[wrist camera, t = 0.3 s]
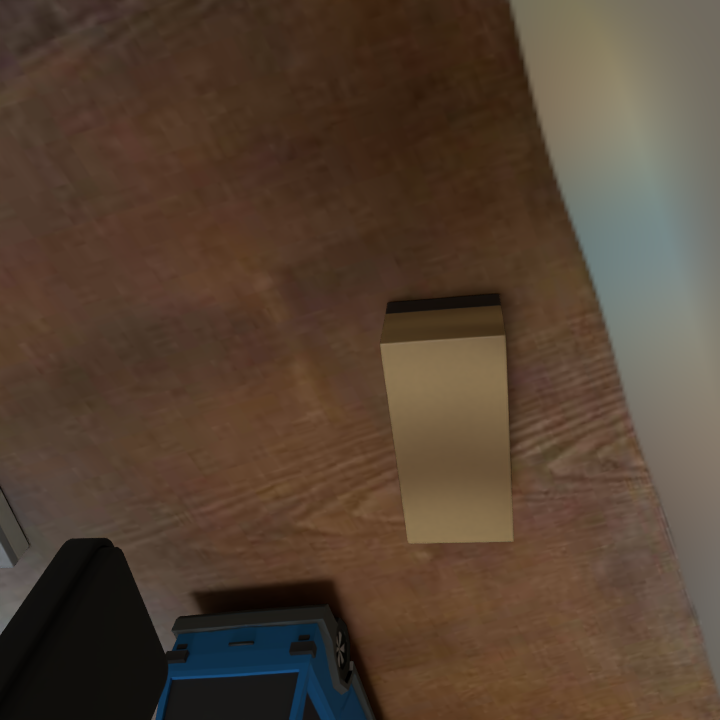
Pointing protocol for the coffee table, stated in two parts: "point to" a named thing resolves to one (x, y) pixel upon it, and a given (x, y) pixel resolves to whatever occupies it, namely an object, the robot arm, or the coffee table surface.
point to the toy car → (263, 667)
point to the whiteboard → (10, 536)
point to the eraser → (450, 417)
